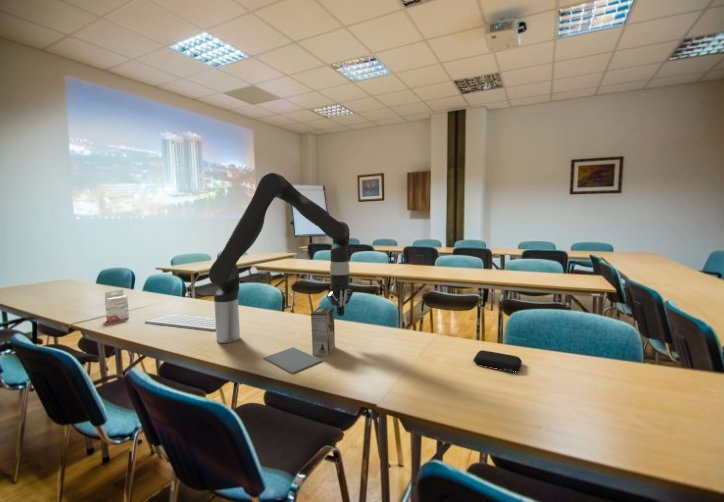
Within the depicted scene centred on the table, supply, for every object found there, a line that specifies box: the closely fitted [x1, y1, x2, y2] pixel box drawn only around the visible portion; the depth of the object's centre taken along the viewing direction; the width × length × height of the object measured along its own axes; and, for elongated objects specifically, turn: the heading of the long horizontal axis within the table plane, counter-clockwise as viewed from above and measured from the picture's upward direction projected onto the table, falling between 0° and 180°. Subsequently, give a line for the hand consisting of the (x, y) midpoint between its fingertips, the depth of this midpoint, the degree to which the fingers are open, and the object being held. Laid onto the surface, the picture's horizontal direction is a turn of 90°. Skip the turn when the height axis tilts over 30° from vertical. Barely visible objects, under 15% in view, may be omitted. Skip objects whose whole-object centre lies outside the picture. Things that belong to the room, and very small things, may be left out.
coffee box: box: [310, 306, 336, 357], centre depth 129 cm, size 9×6×16 cm
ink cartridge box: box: [104, 289, 130, 323], centre depth 174 cm, size 9×5×15 cm, turn 144°
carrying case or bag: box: [473, 349, 523, 373], centre depth 116 cm, size 11×3×15 cm
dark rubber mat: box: [262, 346, 323, 375], centre depth 122 cm, size 18×13×1 cm
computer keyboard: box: [144, 313, 216, 332], centre depth 169 cm, size 43×19×2 cm, turn 70°
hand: (340, 315), depth 136 cm, fingers closed
